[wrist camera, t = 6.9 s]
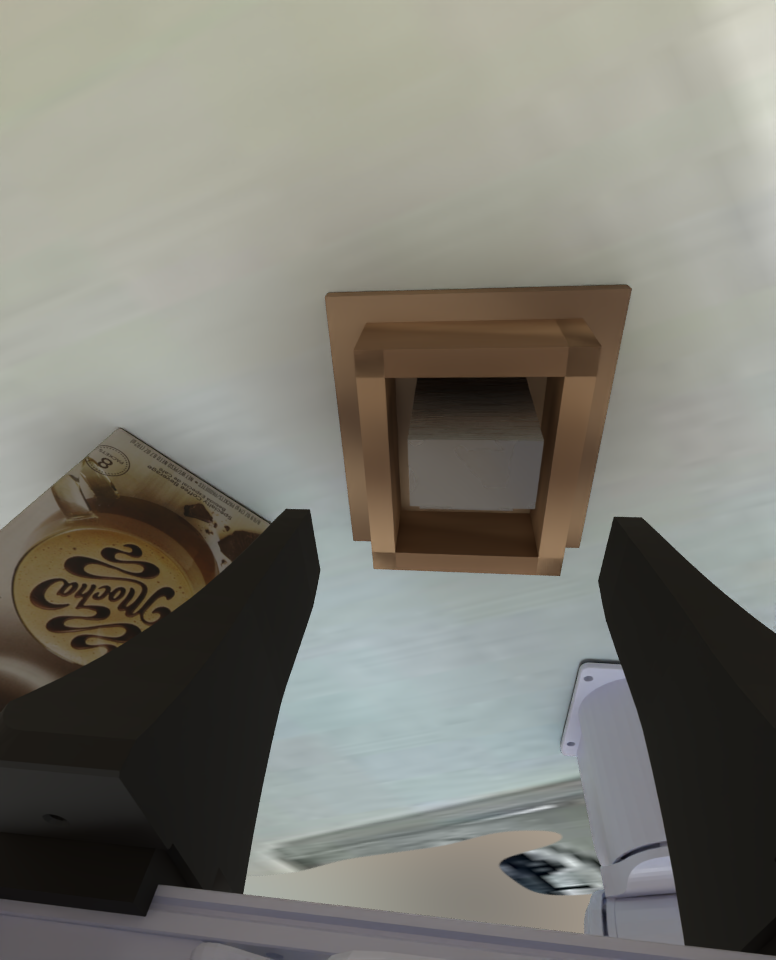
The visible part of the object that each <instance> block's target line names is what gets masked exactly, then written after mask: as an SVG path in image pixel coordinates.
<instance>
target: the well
mask: <svg viewBox="0 0 776 960" xmlns="http://www.w3.org/2000/svg"><path fill="white" fill-rule="evenodd" d="M631 290H632V289H631V288H630V287H629V286H628V285H597V286H560V287H522V288H485V289H448V290H411V291H374V292H337V293H328V294H327V295H326V296H325V302H326V311H327V319H328V328H329V336H330V345H331V353H332V362H333V370H334V379H335V387H336V396H337V404H338V413H339V421H340V430H341V438H342V447H343V455H344V464H345V472H346V481H347V489H348V498H349V506H350V515H351V524H352V532H353V541H371V545H372V556H373V566H374V569H391V570H417V571H443V572H469V573H495V574H522V575H548V576H560V574H561V568H562V563H563V557H564V552H565V547H567V548H579V546H580V541H581V536H582V532H583V527H584V522H585V517H586V512H587V507H588V502H589V497H590V492H591V487H592V482H593V477H594V472H595V467H596V463H597V458H598V453H599V448H600V443H601V438H602V433H603V428H604V423H605V418H606V413H607V408H608V403H609V399H610V394H611V389H612V384H613V379H614V374H615V369H616V364H617V359H618V354H619V349H620V344H621V339H622V335H623V330H624V325H625V320H626V315H627V310H628V305H629V300H630V295H631ZM445 377H526V379H527V383H528V386H529V390H530V393H531V397H532V400H533V404H534V407H535V411H536V414H537V418H538V421H539V425H540V428H541V432H542V435H543V439H544V445H543V452H542V460H541V467H540V475H539V482H538V490H537V497H536V505H535V509H513V511H498V510H458V509H420V506H410V495H409V466H408V434H409V427H410V421H411V415H412V408H413V402H414V396H415V389H416V383H417V378H445Z"/></svg>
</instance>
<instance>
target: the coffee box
mask: <svg viewBox="0 0 776 960" xmlns="http://www.w3.org/2000/svg"><path fill="white" fill-rule="evenodd" d="M269 525H270V524H269V523H267V522H266V521H264V520H263V519H261V518H260V517H258V516H256V515H255V514H253V513H252V512H250V511H248V510H247V509H245V508H244V507H242V506H240V505H239V504H237V503H236V502H234V501H233V500H231V499H230V498H228V497H227V496H225V495H223V494H222V493H220V492H219V491H217V490H216V489H214V488H213V487H211V486H210V485H208V484H206V483H205V482H203V481H202V480H200V479H199V478H197V477H195V476H194V475H192V474H191V473H189V472H188V471H186V470H184V469H183V468H181V467H180V466H178V465H177V464H175V463H174V462H172V461H171V460H169V459H167V458H166V457H164V456H163V455H161V454H160V453H158V452H157V451H155V450H154V449H152V448H150V447H149V446H147V445H146V444H144V443H143V442H141V441H140V440H138V439H136V438H135V437H133V436H132V435H130V434H129V433H127V432H126V431H124V430H122V429H117V430H116V431H114V432H113V433H112V434H111V435H110V436H109V437H108V438H107V439H105V440H104V441H103V442H102V443H101V444H100V445H99V446H97V447H96V448H95V449H94V450H93V451H92V452H91V453H90V454H89V455H87V456H86V457H85V458H84V459H83V460H82V461H81V462H79V463H78V464H77V465H76V466H75V467H74V468H72V469H71V470H70V471H69V472H68V473H66V474H65V475H64V476H63V477H62V478H61V479H59V480H58V481H57V482H56V483H55V484H54V485H52V486H51V487H50V488H49V489H48V490H47V491H45V492H44V493H43V494H42V495H41V496H40V497H38V498H37V499H36V500H35V501H34V502H33V503H31V504H30V505H29V506H28V507H27V508H25V509H24V510H23V511H22V512H21V513H20V514H19V515H17V516H16V517H15V518H14V519H13V520H11V521H10V522H9V523H8V524H7V525H6V526H5V527H3V528H2V529H1V530H0V712H1V711H2V710H3V709H4V707H5V706H6V705H7V704H8V703H9V702H10V701H12V700H14V699H17V698H19V697H21V696H23V695H25V694H27V693H30V692H32V691H34V690H36V689H38V688H40V687H42V686H44V685H46V684H49V683H51V682H53V681H55V680H57V679H59V678H61V677H63V676H65V675H67V674H69V673H71V672H73V671H75V670H77V669H79V668H81V667H83V666H85V665H86V664H88V663H90V662H92V661H94V660H96V659H98V658H99V657H101V656H103V655H105V654H106V653H108V652H110V651H112V650H113V649H115V648H117V647H119V646H120V645H122V644H124V643H125V642H127V641H128V640H130V639H131V638H133V637H135V636H136V635H138V634H139V633H141V632H142V631H144V630H145V629H147V628H149V627H150V626H152V625H153V624H155V623H156V622H158V621H159V620H161V619H162V618H164V617H165V616H167V615H168V614H170V613H171V612H172V611H174V610H175V609H176V608H178V607H179V606H180V605H182V604H183V603H184V602H186V601H187V600H188V599H190V598H191V597H192V596H194V595H195V594H196V593H197V592H199V591H200V590H201V589H202V588H204V587H205V586H206V585H207V584H208V583H209V582H210V581H212V580H213V579H214V578H215V577H216V576H217V575H218V574H220V573H221V572H222V571H223V570H224V569H225V568H226V567H227V566H229V565H230V564H231V563H232V562H233V561H234V560H235V559H236V558H237V557H238V556H239V555H240V554H241V553H242V552H243V551H244V550H245V549H246V548H247V547H248V546H249V545H250V544H251V543H252V542H253V541H254V540H255V539H256V538H257V537H258V536H259V535H260V534H261V533H262V532H263V531H264V530H265V529H266V528H267V527H268V526H269Z"/></svg>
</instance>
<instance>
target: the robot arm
mask: <svg viewBox="0 0 776 960" xmlns="http://www.w3.org/2000/svg"><path fill="white" fill-rule="evenodd" d="M319 575H320V566H319V560H318V554H317V548H316V542H315V537H314V531H313V525H312V519H311V513H310V510H307V509H286V510H285V511H284V512H283V513H281V514H280V515H279V516H278V517H277V518H276V519H275V520H274V521H273V522H272V523H271V524H270V525H269V526H268V527H267V528H266V529H265V530H264V531H263V532H262V533H261V534H260V535H259V536H258V537H257V538H256V539H255V540H254V541H253V542H252V543H251V544H250V545H249V546H248V547H247V548H246V549H245V550H244V551H243V552H242V553H241V554H240V555H239V556H238V557H237V558H236V559H235V560H234V561H233V562H232V563H231V564H230V565H229V566H227V567H226V568H225V569H224V570H223V571H222V572H221V573H220V574H218V575H217V576H216V577H215V578H214V579H213V580H212V581H210V582H209V583H208V584H207V585H206V586H205V587H204V588H202V589H201V590H200V591H199V592H197V593H196V594H195V595H194V596H192V597H191V598H190V599H188V600H187V601H186V602H184V603H183V604H182V605H180V606H179V607H178V608H176V609H175V610H174V611H172V612H171V613H170V614H168V615H167V616H165V617H164V618H162V619H161V620H159V621H158V622H156V623H155V624H153V625H152V626H150V627H149V628H147V629H145V630H144V631H142V632H141V633H139V634H138V635H136V636H135V637H133V638H131V639H130V640H128V641H127V642H125V643H124V644H122V645H120V646H119V647H117V648H115V649H113V650H112V651H110V652H108V653H106V654H105V655H103V656H101V657H99V658H98V659H96V660H94V661H92V662H90V663H88V664H86V665H85V666H83V667H81V668H79V669H77V670H75V671H73V672H71V673H69V674H67V675H65V676H63V677H61V678H59V679H57V680H55V681H53V682H51V683H49V684H46V685H44V686H42V687H40V688H38V689H36V690H34V691H32V692H30V693H27V694H25V695H23V696H21V697H19V698H17V699H14V700H12V701H10V702H9V703H8V704H7V705H6V706H5V707H4V709H3V710H2V711H1V712H0V960H776V633H774V632H773V631H771V630H770V629H769V628H767V627H766V626H765V625H763V624H762V623H761V622H759V621H758V620H757V619H755V618H754V617H753V616H752V615H750V614H749V613H748V612H747V611H745V610H744V609H743V608H742V607H740V606H739V605H738V604H737V603H735V602H734V601H733V600H732V599H731V598H729V597H728V596H727V595H726V594H724V593H723V592H722V591H721V590H720V589H719V588H717V587H716V586H715V585H714V584H713V583H712V582H711V581H709V580H708V579H707V578H706V577H705V576H704V575H703V574H702V573H700V572H699V571H698V570H697V569H696V568H695V567H694V566H693V565H692V564H691V563H689V562H688V561H687V560H686V559H685V558H684V557H683V556H682V555H681V554H680V553H679V552H678V551H677V550H676V549H675V548H673V547H672V546H671V545H670V544H669V543H668V542H667V541H666V540H665V539H664V538H663V537H662V536H661V535H660V534H659V533H658V532H657V531H656V530H655V529H654V528H653V527H651V526H650V525H649V524H648V523H647V522H646V521H645V520H644V519H643V518H639V517H614V518H613V522H612V527H611V531H610V535H609V539H608V543H607V547H606V551H605V555H604V559H603V563H602V567H601V572H600V576H599V580H598V582H599V588H600V593H601V599H602V604H603V609H604V613H605V618H606V622H607V625H608V628H609V631H610V634H611V637H612V640H613V643H614V646H615V649H616V652H617V655H618V657H619V660H620V663H621V664H606V663H584V664H582V665H581V666H580V668H579V672H578V676H577V680H576V685H575V689H574V693H573V697H572V701H571V705H570V709H569V713H568V717H567V721H566V725H565V729H564V733H563V737H562V742H561V746H560V748H561V753H562V754H564V755H566V756H577V760H578V766H579V771H580V776H581V781H582V786H583V792H584V797H585V802H586V807H587V812H588V818H589V823H590V828H591V833H592V838H593V843H594V847H595V851H596V854H597V857H598V860H599V862H600V864H601V867H600V871H601V876H602V881H603V886H604V890H597V891H595V892H593V894H592V896H591V899H590V903H589V905H588V908H587V910H586V914H585V920H584V933H585V934H581V933H573V932H563V931H556V930H547V929H538V928H530V927H521V926H513V925H504V924H495V923H487V922H478V921H469V920H461V919H452V918H443V917H435V916H426V915H416V914H409V913H400V912H391V911H383V910H375V909H366V908H357V907H349V906H340V905H331V904H322V903H314V902H306V901H297V900H288V899H280V898H271V897H262V896H253V895H244V894H243V892H244V886H245V880H246V874H247V868H248V862H249V857H250V851H251V845H252V839H253V833H254V828H255V823H256V818H257V813H258V807H259V802H260V797H261V792H262V787H263V782H264V777H265V772H266V768H267V763H268V758H269V754H270V749H271V744H272V740H273V736H274V731H275V727H276V723H277V718H278V714H279V710H280V705H281V702H282V698H283V695H284V692H285V688H286V685H287V682H288V679H289V676H290V673H291V670H292V668H293V665H294V662H295V659H296V656H297V653H298V650H299V647H300V644H301V641H302V638H303V635H304V632H305V629H306V626H307V623H308V620H309V617H310V614H311V611H312V608H313V604H314V600H315V595H316V590H317V585H318V580H319Z"/></svg>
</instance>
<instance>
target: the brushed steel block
mask: <svg viewBox="0 0 776 960" xmlns="http://www.w3.org/2000/svg"><path fill="white" fill-rule="evenodd" d="M543 445H544V439H543V435H542V432H541V428H540V425H539V421H538V418H537V414H536V411H535V407H534V404H533V400H532V397H531V393H530V390H529V386H528V383H527V379H526V377H445V378H417V383H416V389H415V396H414V402H413V408H412V415H411V421H410V427H409V434H408V466H409V495H410V506H420V509H458V510H498V511H513V509H535V505H536V497H537V490H538V482H539V475H540V467H541V460H542V452H543Z"/></svg>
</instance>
